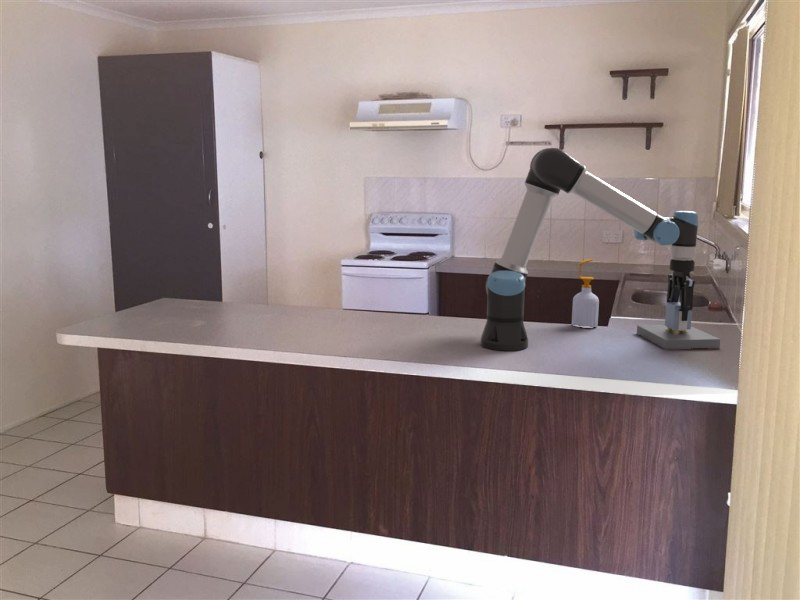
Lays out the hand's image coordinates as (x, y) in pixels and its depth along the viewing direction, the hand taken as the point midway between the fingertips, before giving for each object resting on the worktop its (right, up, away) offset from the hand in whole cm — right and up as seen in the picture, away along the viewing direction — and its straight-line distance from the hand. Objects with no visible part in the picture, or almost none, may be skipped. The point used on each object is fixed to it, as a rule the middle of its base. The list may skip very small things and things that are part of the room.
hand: (677, 327), depth 243 cm
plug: (0, -2, 0) cm, 2 cm away
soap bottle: (-25, 0, +22) cm, 34 cm away
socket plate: (0, -4, +1) cm, 4 cm away
